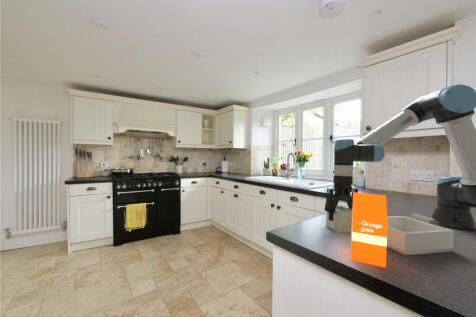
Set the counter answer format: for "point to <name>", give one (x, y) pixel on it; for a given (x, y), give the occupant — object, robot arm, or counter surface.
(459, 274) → the counter surface
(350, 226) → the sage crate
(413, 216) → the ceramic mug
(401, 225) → the grey crate
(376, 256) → the orange juice
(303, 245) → the counter surface
